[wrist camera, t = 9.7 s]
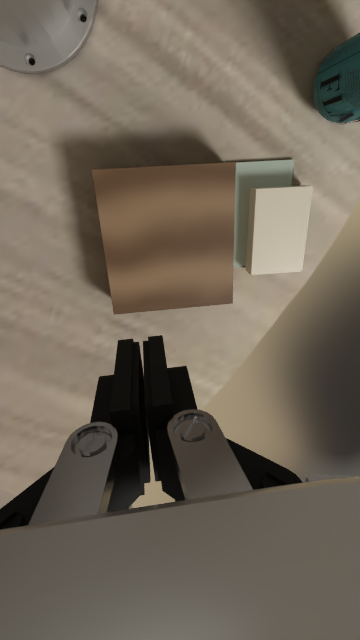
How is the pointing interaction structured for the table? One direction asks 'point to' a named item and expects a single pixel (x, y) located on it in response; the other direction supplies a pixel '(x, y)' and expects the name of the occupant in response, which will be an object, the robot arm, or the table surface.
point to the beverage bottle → (340, 83)
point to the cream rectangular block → (277, 229)
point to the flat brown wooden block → (168, 235)
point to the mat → (249, 178)
